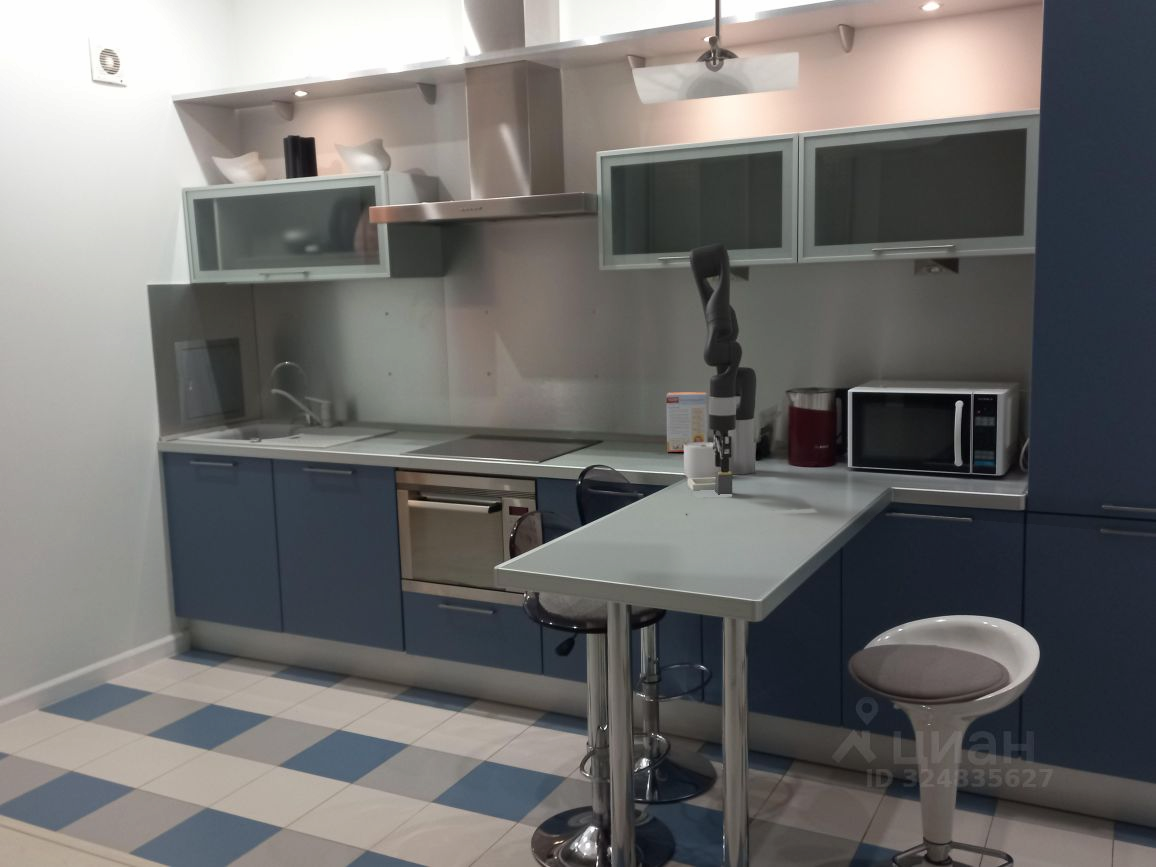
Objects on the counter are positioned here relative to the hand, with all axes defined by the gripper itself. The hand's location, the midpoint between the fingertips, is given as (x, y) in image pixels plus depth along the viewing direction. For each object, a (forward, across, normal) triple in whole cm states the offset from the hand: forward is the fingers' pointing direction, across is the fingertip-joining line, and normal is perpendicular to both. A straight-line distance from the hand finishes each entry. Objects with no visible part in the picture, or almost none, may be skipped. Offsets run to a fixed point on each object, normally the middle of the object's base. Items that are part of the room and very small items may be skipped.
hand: (721, 469), depth 291 cm
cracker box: (+8, +71, -2) cm, 72 cm away
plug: (+7, 0, -1) cm, 7 cm away
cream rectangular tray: (+8, +5, +2) cm, 10 cm away
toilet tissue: (+8, +29, +1) cm, 30 cm away
